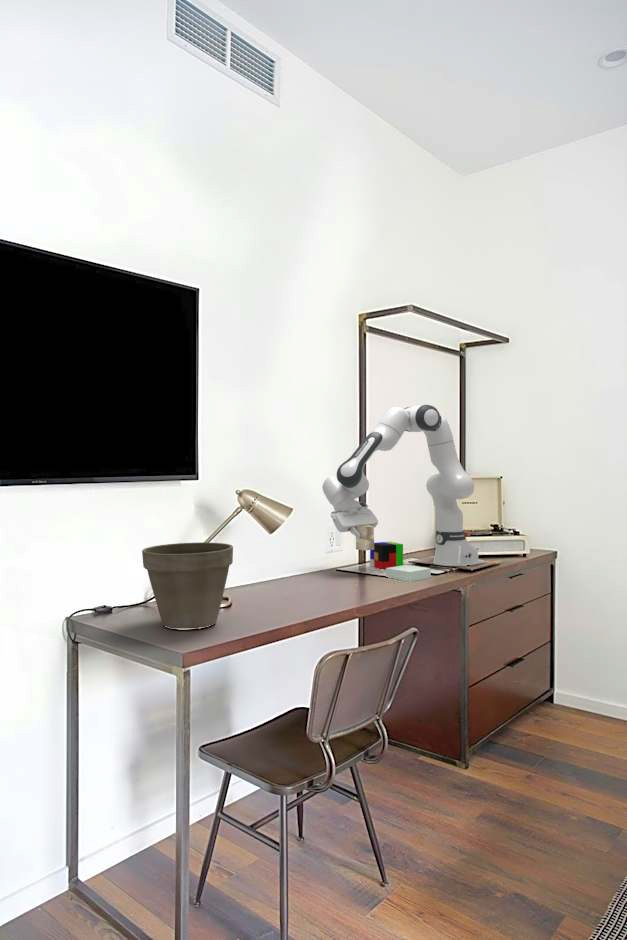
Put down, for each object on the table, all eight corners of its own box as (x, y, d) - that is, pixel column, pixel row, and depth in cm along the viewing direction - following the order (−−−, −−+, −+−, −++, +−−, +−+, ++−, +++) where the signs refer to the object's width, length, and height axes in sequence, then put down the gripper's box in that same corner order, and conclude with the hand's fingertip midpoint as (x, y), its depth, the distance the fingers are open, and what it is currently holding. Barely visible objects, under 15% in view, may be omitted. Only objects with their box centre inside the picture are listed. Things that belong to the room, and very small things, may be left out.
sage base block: (406, 574, 271) (406, 564, 271) (430, 578, 262) (430, 568, 262) (386, 578, 263) (386, 568, 263) (410, 582, 254) (410, 572, 254)
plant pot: (123, 627, 187) (122, 548, 187) (188, 610, 208) (187, 539, 207) (189, 641, 173) (188, 555, 173) (251, 621, 194) (251, 545, 193)
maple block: (364, 548, 270) (364, 525, 269) (374, 549, 266) (373, 526, 266) (355, 549, 266) (355, 526, 266) (365, 550, 262) (364, 527, 262)
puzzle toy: (370, 566, 289) (370, 542, 289) (390, 564, 293) (390, 541, 293) (382, 570, 280) (382, 545, 280) (403, 568, 284) (403, 544, 284)
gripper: (332, 506, 264) (350, 534, 257) (369, 503, 277) (387, 529, 270) (325, 517, 267) (342, 544, 260) (361, 513, 281) (379, 539, 274)
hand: (366, 536), depth 265 cm, fingers closed on maple block, 5 cm apart
